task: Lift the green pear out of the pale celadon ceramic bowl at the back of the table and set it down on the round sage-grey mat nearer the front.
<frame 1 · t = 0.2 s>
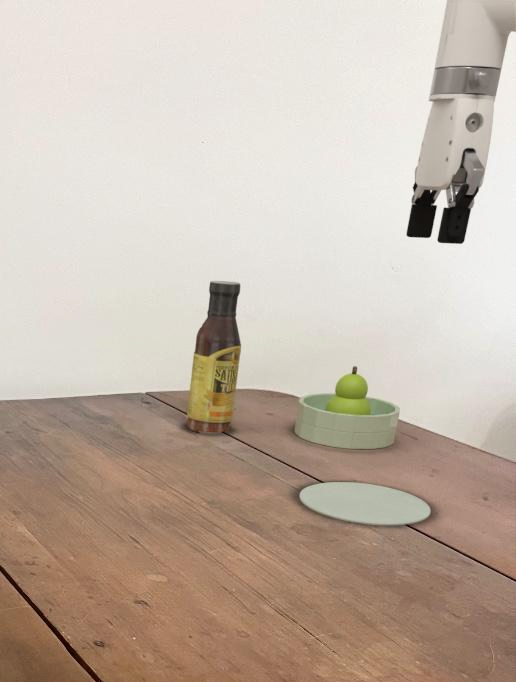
hand: (433, 240, 118), 26 cm above the table, tool pointing down, fingers open, 9 cm apart
mat: (363, 504, 102), on the table
sauce bottle: (208, 431, 129), on the table
bowl: (343, 440, 127), on the table
pear: (343, 435, 126), point 1 cm above the table, touching bowl
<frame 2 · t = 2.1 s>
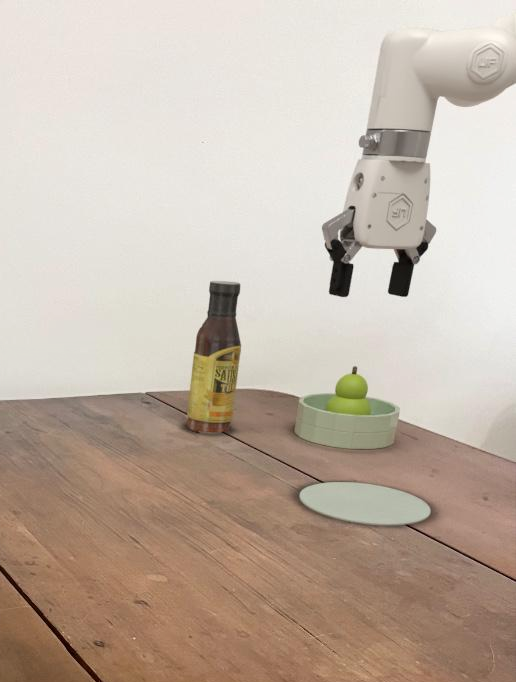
hand: (368, 295, 119), 19 cm above the table, tool pointing down, fingers open, 9 cm apart
nothing on the table moved.
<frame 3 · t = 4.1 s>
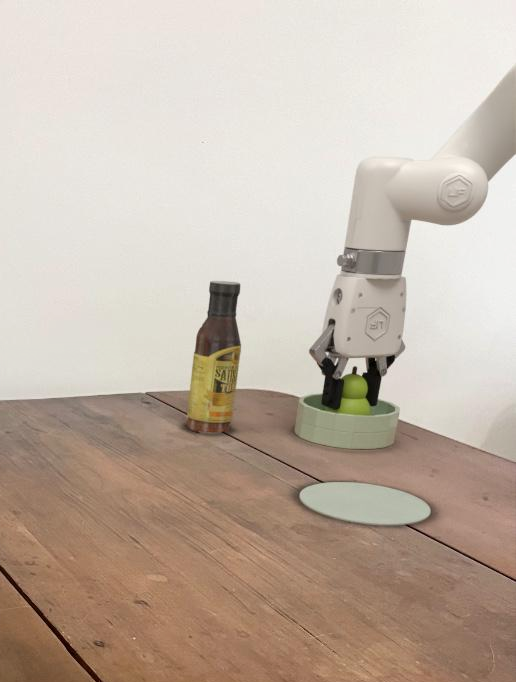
hand: (349, 404, 125), 5 cm above the table, tool pointing down, fingers closed on pear, 5 cm apart
pear: (343, 435, 126), point 1 cm above the table, touching bowl, gripper
everything else where it was.
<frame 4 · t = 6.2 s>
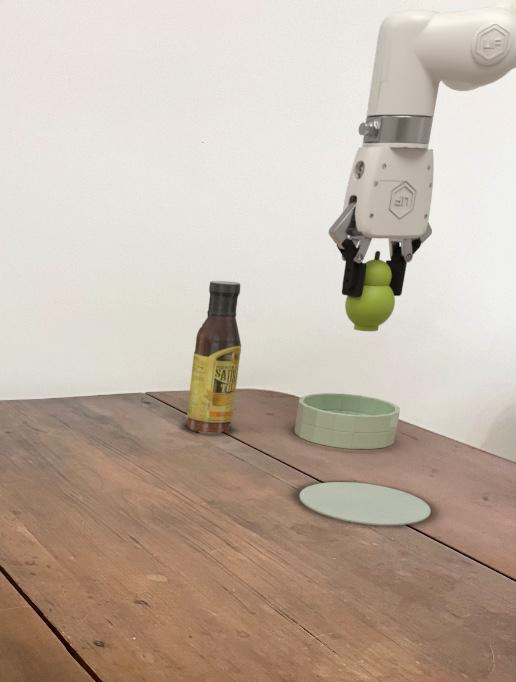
hand: (371, 293, 116), 20 cm above the table, tool pointing down, fingers closed on pear, 5 cm apart
pear: (365, 329, 118), point 15 cm above the table, touching gripper
everything else where it was.
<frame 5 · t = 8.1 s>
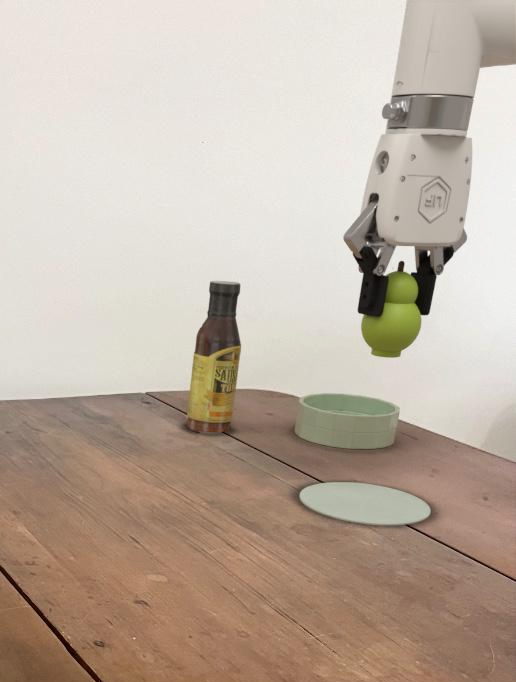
hand: (393, 312, 96), 20 cm above the table, tool pointing down, fingers closed on pear, 5 cm apart
pear: (385, 355, 98), point 16 cm above the table, touching gripper
everything else where it was.
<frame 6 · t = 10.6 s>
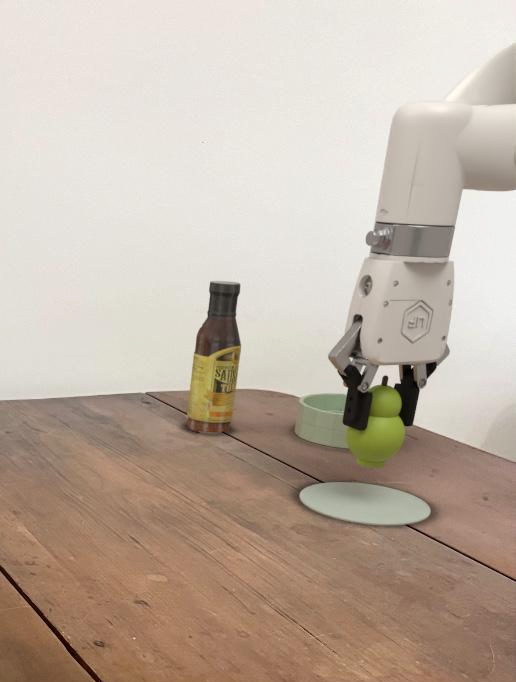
hand: (377, 423, 98), 9 cm above the table, tool pointing down, fingers closed on pear, 5 cm apart
pear: (370, 463, 100), point 5 cm above the table, touching gripper
everything else where it was.
when the fingers open (5 cm above the table, at t = 12.2 s): pear stays where it is, resting on mat.
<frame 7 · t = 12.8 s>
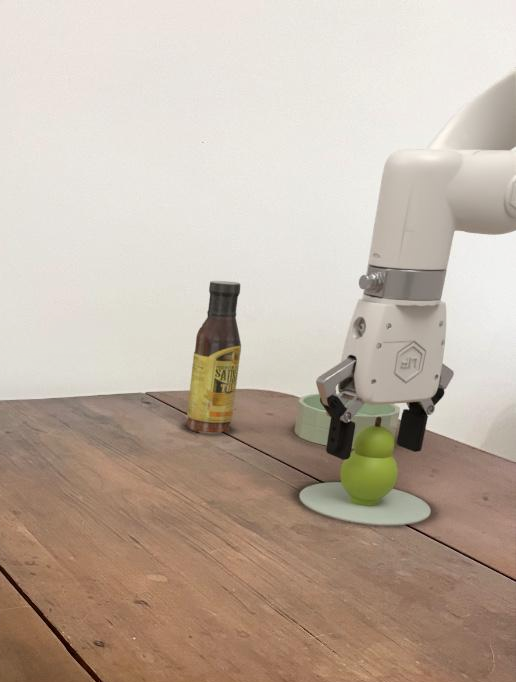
hand: (373, 452, 99), 6 cm above the table, tool pointing down, fingers open, 9 cm apart
pear: (363, 501, 102), resting on mat
everything else where it was.
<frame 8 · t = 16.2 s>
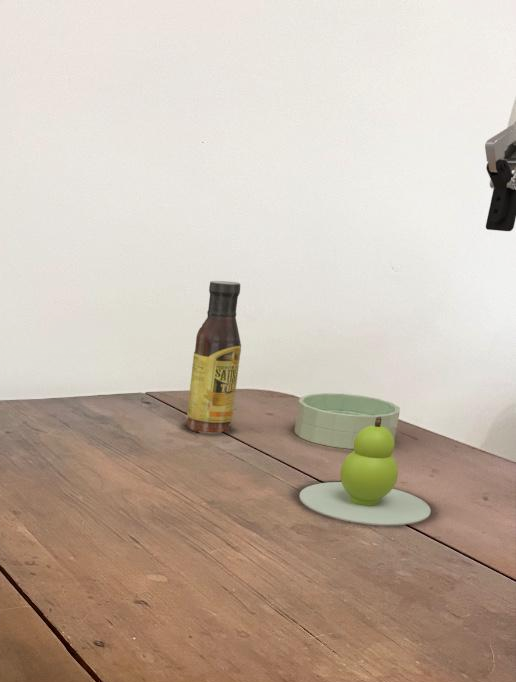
nothing on the table moved.
at the end: pear inside the target area on the mat (0.0 cm from its centre), point 0.4 cm above the mat's base; pear 0.0 cm from the mat (horizontally); the gripper is holding nothing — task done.
